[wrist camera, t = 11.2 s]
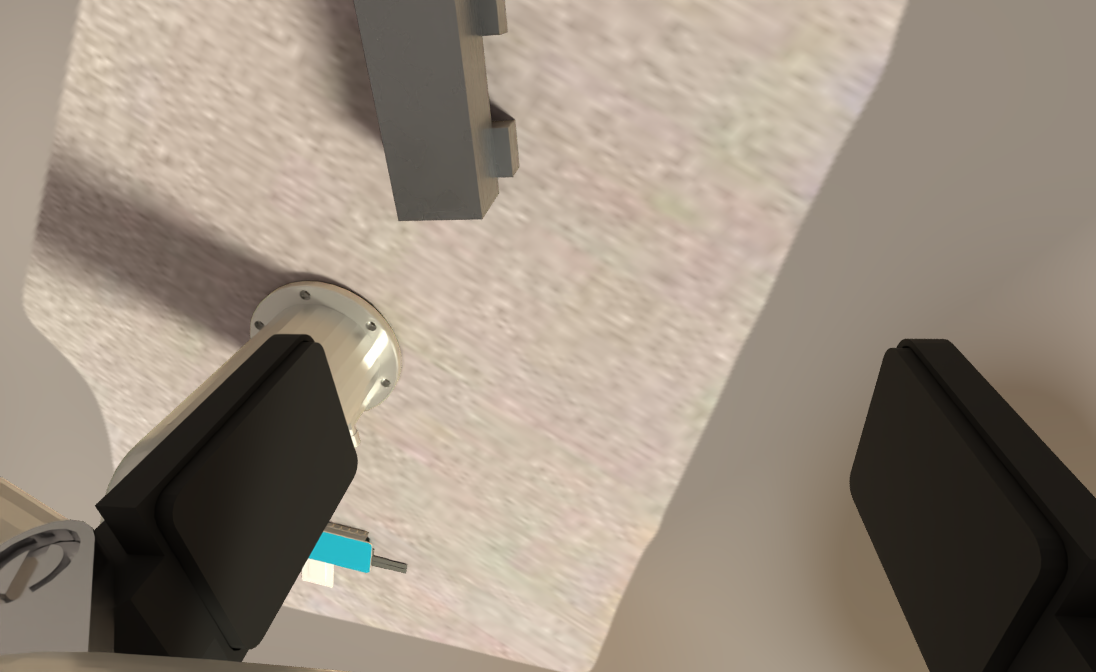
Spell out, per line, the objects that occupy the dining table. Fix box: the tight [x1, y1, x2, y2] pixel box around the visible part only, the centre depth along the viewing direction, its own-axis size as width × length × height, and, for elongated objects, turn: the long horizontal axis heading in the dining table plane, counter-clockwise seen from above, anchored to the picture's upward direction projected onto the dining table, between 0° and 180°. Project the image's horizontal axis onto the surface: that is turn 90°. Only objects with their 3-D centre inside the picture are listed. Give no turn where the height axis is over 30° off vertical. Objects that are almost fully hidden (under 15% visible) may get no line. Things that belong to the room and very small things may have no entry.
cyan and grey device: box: [302, 522, 407, 588], centre depth 62 cm, size 20×12×2 cm, turn 77°
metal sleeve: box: [354, 0, 519, 221], centre depth 33 cm, size 12×7×8 cm, turn 4°
